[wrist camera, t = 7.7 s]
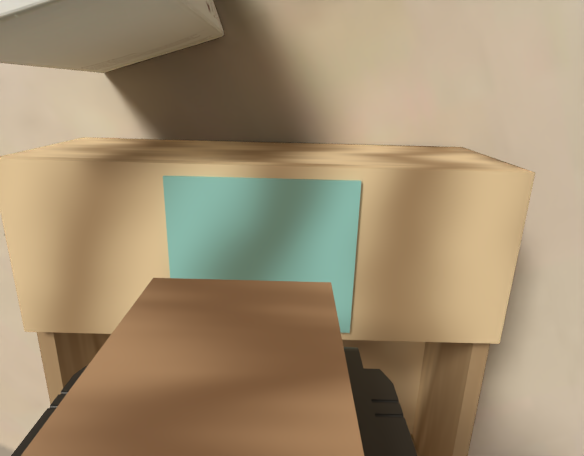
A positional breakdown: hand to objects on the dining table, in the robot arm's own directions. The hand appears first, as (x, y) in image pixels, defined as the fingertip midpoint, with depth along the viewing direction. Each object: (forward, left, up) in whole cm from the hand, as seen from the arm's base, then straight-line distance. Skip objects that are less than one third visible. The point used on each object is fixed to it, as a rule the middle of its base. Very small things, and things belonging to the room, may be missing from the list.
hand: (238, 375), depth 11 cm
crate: (0, +7, -16) cm, 17 cm away
